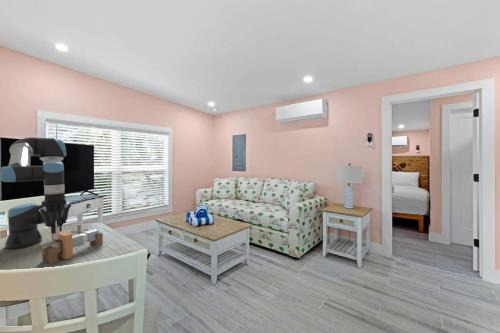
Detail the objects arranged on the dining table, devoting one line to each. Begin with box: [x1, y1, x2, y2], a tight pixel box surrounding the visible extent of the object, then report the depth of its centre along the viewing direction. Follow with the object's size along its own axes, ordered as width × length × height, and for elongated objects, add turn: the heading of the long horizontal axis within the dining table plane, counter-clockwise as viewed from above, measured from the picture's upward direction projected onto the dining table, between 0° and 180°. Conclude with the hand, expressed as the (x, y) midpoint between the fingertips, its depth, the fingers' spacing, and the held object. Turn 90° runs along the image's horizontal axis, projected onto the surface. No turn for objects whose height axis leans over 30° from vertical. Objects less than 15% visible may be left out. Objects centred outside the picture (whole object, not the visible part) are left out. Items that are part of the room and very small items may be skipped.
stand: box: [41, 231, 104, 265], centre depth 116 cm, size 7×25×7 cm, turn 158°
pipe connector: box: [70, 223, 89, 235], centre depth 133 cm, size 10×10×10 cm
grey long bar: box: [46, 228, 100, 253], centre depth 116 cm, size 5×22×5 cm, turn 158°
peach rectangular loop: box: [51, 231, 74, 260], centre depth 111 cm, size 12×3×12 cm, turn 68°
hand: (56, 238), depth 109 cm, fingers closed
